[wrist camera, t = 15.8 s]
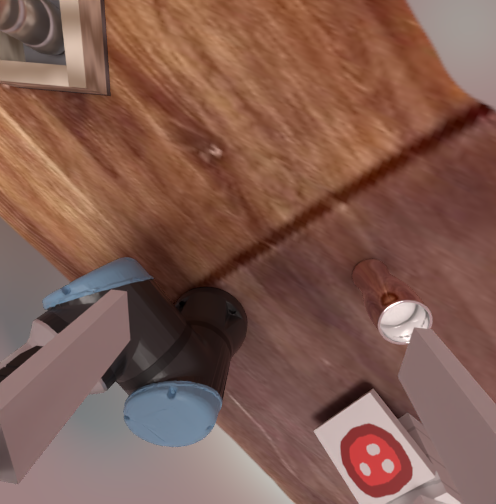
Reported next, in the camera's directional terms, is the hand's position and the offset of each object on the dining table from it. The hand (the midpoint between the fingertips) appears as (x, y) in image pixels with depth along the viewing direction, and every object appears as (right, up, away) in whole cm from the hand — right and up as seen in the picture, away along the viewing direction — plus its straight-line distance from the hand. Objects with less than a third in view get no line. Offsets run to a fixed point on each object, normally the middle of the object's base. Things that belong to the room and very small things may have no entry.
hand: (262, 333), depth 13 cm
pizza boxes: (+29, -36, +49) cm, 68 cm away
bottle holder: (-29, +36, +29) cm, 55 cm away
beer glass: (+21, 0, +37) cm, 43 cm away
